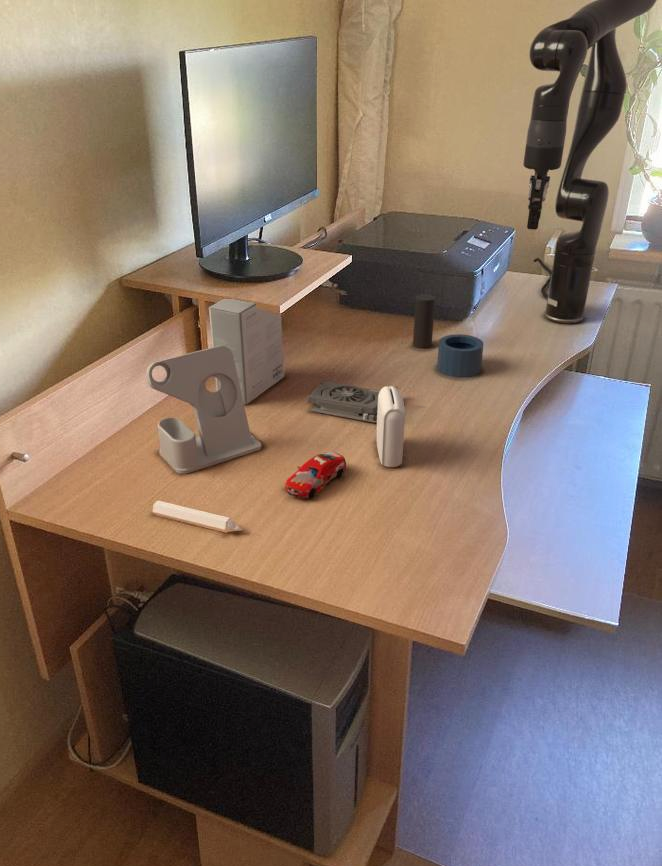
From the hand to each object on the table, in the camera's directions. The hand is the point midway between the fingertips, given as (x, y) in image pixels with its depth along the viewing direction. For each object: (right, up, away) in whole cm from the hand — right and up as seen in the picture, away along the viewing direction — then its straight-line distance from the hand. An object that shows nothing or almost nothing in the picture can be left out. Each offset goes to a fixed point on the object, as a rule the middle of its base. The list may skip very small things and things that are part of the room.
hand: (533, 223), depth 168 cm
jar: (-15, -31, +4) cm, 35 cm away
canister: (-21, -24, +16) cm, 36 cm away
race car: (-48, -56, -33) cm, 81 cm away
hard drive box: (-61, -36, -1) cm, 70 cm away
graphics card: (-39, -40, -9) cm, 57 cm away
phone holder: (-67, -50, -23) cm, 87 cm away
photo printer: (-34, -51, -26) cm, 66 cm away
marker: (-66, -63, -43) cm, 101 cm away
